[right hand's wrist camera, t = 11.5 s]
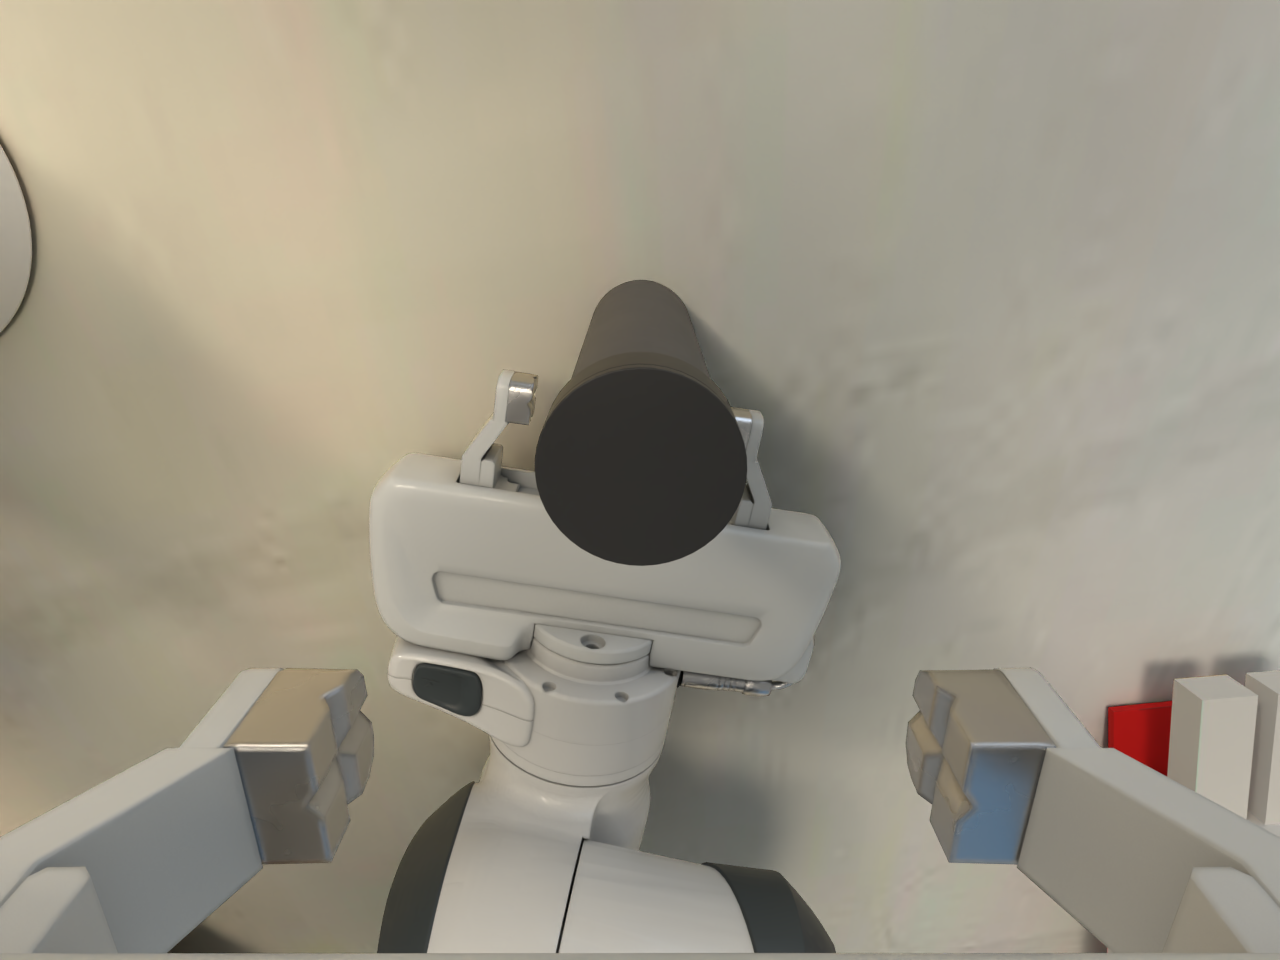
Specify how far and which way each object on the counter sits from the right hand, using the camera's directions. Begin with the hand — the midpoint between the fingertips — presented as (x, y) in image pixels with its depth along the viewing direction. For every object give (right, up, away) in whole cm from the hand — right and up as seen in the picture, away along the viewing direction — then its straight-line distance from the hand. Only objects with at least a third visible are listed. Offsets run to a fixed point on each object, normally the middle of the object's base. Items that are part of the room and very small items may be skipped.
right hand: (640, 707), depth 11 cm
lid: (0, +3, +9) cm, 9 cm away
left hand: (0, +7, +21) cm, 22 cm away
